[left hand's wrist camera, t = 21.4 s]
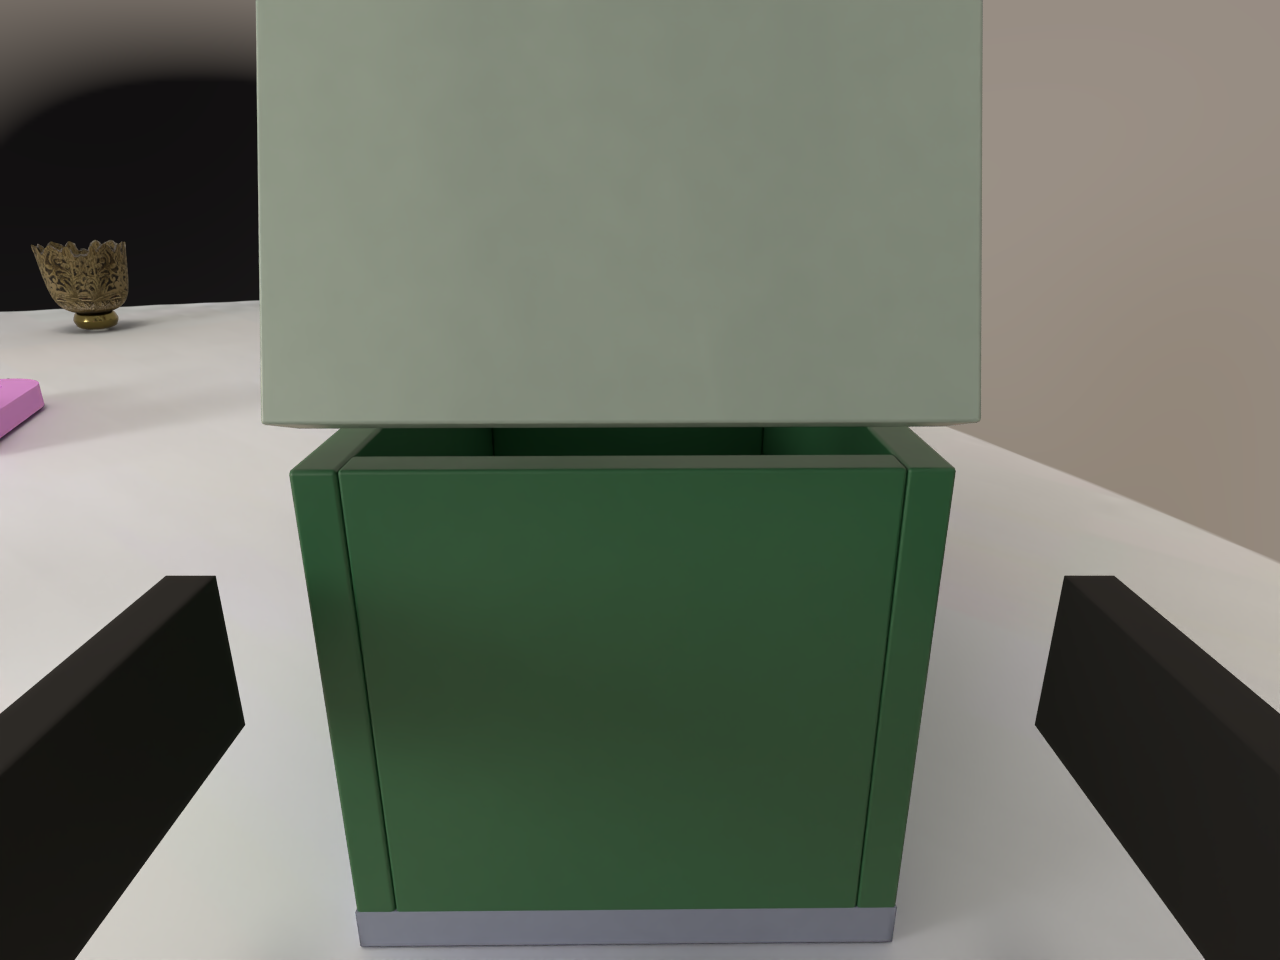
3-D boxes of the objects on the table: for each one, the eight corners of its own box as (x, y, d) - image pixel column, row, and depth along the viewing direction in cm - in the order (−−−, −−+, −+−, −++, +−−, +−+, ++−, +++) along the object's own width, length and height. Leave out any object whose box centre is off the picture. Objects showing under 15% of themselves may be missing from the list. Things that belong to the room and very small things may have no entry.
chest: (484, 596, 28) (464, 321, 25) (772, 594, 28) (790, 321, 25) (360, 946, 15) (285, 471, 12) (892, 942, 15) (958, 468, 12)
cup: (46, 336, 75) (24, 246, 72) (57, 325, 81) (36, 241, 78) (140, 330, 78) (122, 243, 75) (143, 319, 84) (126, 238, 82)
